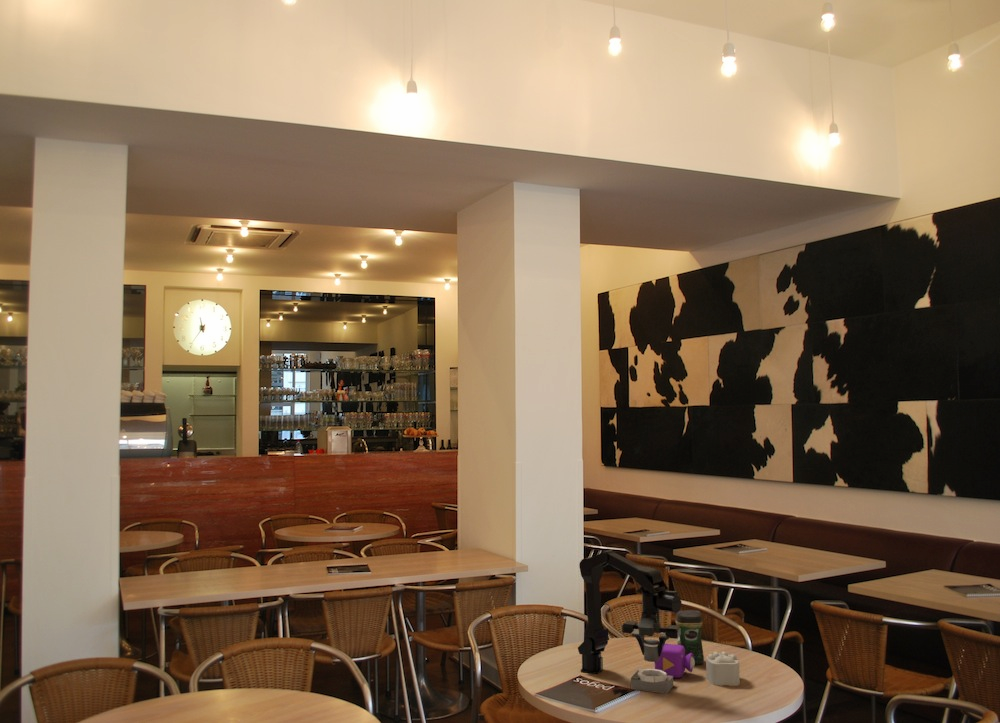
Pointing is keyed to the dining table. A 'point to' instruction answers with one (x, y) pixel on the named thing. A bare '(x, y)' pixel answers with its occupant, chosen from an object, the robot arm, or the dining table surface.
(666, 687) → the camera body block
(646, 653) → the lens
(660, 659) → the toy camera
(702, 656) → the coffee jar
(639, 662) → the dining table surface
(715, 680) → the lumpy-topped squat cylinder
